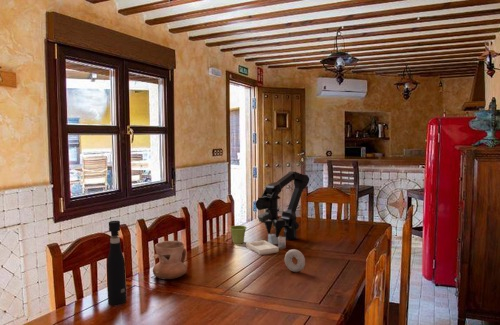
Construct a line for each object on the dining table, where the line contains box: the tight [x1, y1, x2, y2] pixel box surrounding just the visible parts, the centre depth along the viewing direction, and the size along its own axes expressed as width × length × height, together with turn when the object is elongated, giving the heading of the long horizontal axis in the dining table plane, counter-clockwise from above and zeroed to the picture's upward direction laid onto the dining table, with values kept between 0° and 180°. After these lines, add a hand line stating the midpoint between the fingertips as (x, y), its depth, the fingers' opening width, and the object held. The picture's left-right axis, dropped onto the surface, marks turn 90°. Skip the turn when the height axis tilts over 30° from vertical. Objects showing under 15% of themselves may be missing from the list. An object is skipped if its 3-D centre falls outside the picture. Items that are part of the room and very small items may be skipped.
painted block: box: [267, 233, 278, 245], centre depth 226 cm, size 4×4×5 cm
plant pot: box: [229, 225, 247, 245], centre depth 228 cm, size 9×9×9 cm
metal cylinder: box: [277, 235, 287, 250], centre depth 217 cm, size 4×4×6 cm
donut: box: [284, 248, 306, 273], centre depth 179 cm, size 10×4×10 cm, turn 54°
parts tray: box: [245, 239, 280, 256], centre depth 214 cm, size 11×16×2 cm
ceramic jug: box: [152, 240, 188, 280], centre depth 176 cm, size 18×14×14 cm
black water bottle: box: [106, 220, 127, 307], centre depth 148 cm, size 6×6×30 cm
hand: (272, 235), depth 226 cm, fingers open, 9 cm apart
